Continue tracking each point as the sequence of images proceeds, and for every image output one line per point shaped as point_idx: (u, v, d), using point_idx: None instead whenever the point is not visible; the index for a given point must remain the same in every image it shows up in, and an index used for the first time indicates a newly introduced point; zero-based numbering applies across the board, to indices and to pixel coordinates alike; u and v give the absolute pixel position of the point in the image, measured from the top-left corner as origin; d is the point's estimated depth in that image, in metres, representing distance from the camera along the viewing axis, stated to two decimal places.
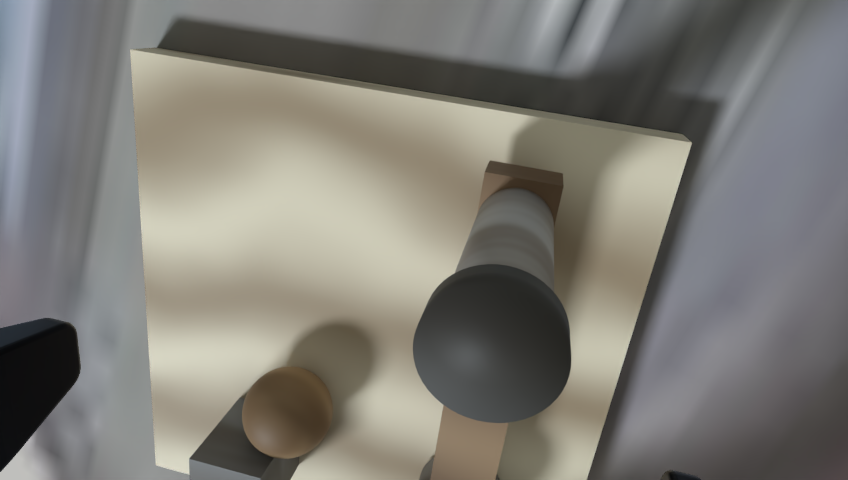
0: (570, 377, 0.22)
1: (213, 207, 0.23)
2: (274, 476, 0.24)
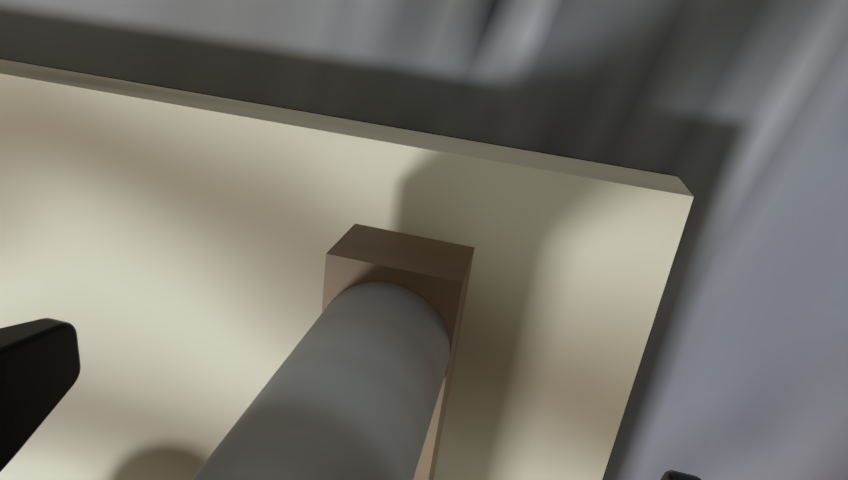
0: None
1: None
2: None
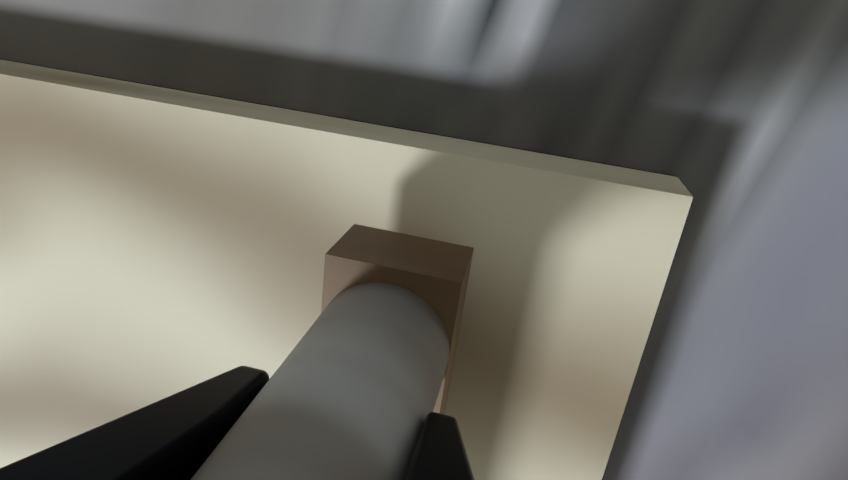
0: None
1: None
2: None
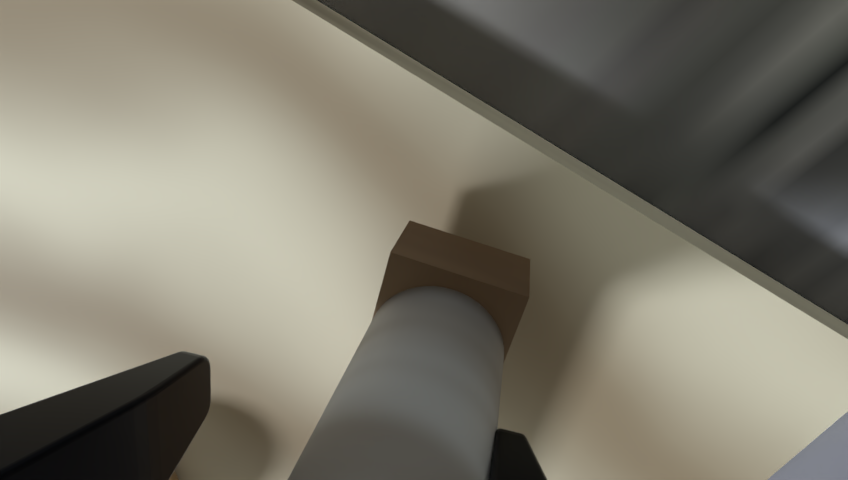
0: None
1: (79, 164, 0.13)
2: None
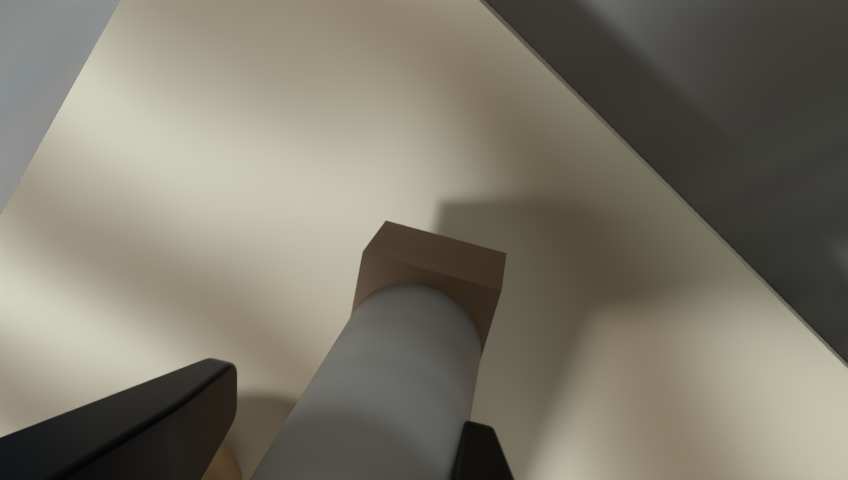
0: None
1: (226, 143, 0.12)
2: None
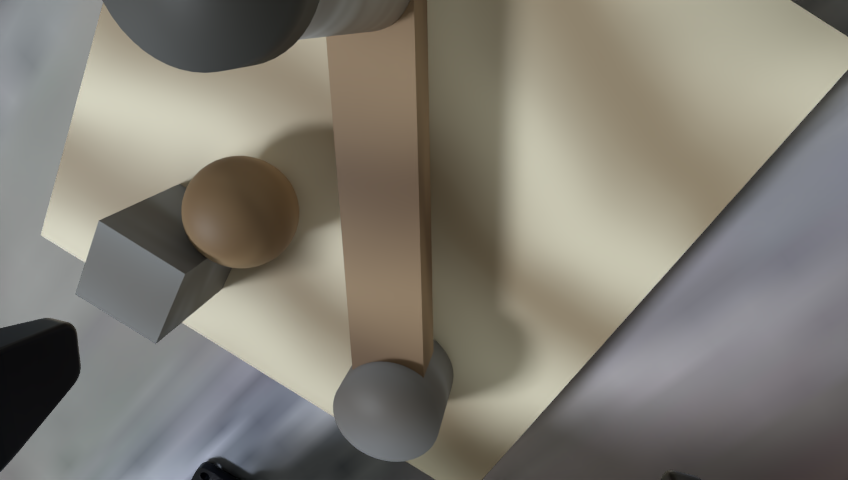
0: (585, 286, 0.19)
1: None
2: (197, 283, 0.19)
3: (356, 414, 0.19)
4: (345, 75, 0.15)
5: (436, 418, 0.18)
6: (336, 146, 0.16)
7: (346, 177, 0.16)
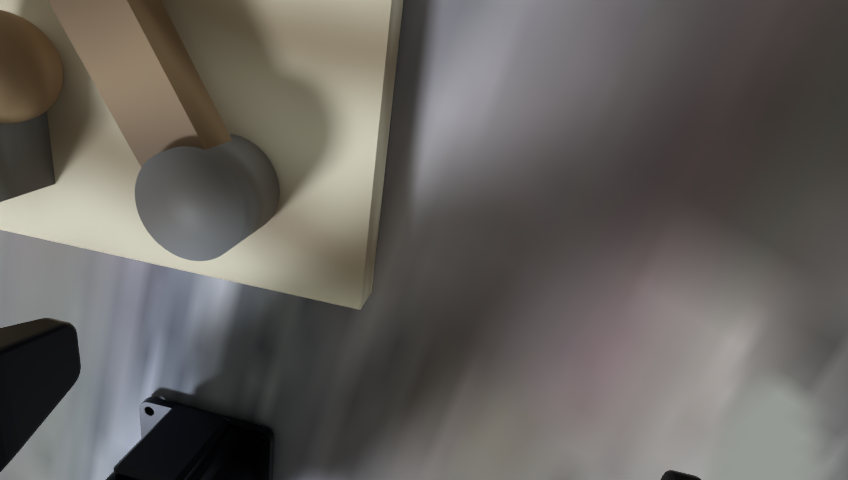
0: (337, 1, 0.18)
1: None
2: None
3: (163, 218, 0.18)
4: None
5: (227, 182, 0.17)
6: None
7: None
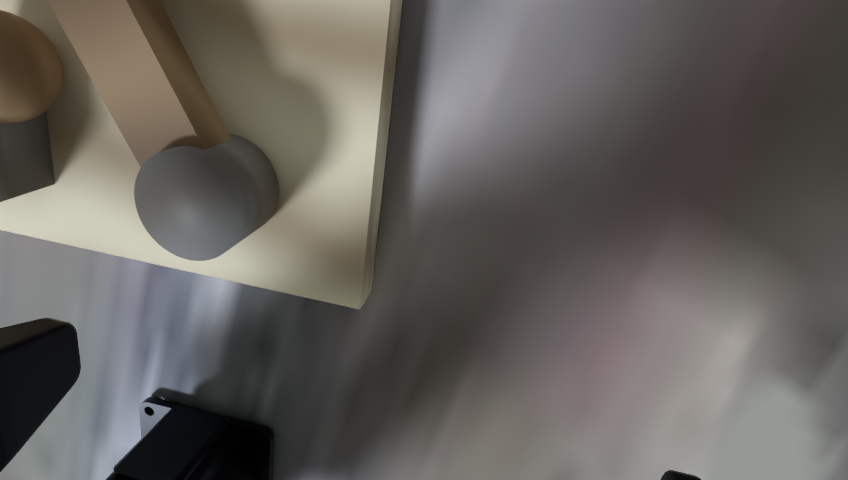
0: (336, 1, 0.18)
1: None
2: None
3: (162, 217, 0.18)
4: None
5: (226, 182, 0.17)
6: None
7: None
